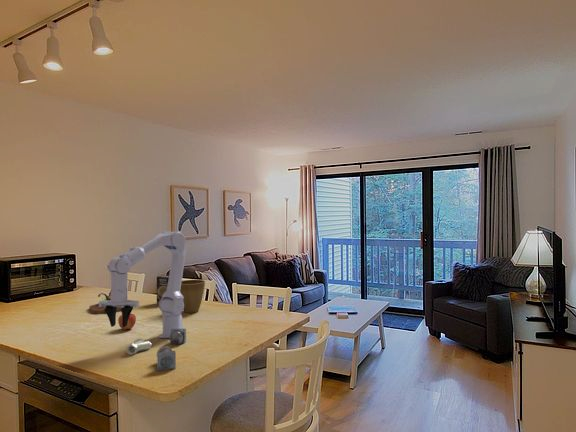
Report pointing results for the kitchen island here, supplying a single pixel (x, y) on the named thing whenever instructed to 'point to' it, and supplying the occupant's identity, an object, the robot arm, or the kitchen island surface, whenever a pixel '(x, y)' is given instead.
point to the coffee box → (161, 286)
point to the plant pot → (192, 294)
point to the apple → (130, 322)
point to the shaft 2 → (178, 336)
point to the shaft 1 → (166, 359)
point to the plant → (100, 310)
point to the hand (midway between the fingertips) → (119, 326)
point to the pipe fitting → (138, 346)
